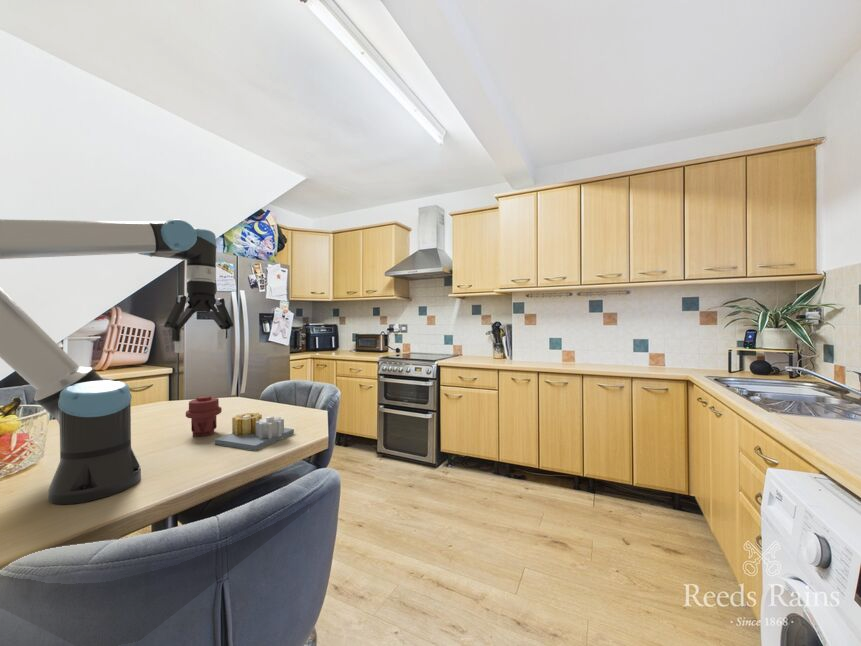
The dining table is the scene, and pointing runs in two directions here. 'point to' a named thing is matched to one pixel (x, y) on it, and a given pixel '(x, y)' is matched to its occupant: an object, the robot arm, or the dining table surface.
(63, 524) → the dining table surface
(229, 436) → the gear board
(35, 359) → the robot arm
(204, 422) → the mechanical component
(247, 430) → the brass gear
